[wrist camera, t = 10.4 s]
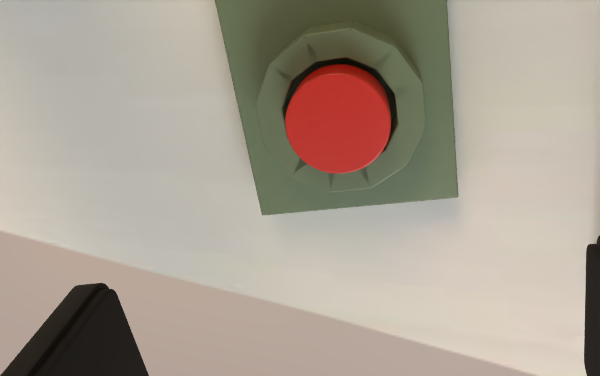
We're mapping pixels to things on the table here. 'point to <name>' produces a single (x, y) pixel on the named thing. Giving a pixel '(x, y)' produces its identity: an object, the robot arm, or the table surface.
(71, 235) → the table surface
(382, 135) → the button
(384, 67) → the control block
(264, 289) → the table surface
